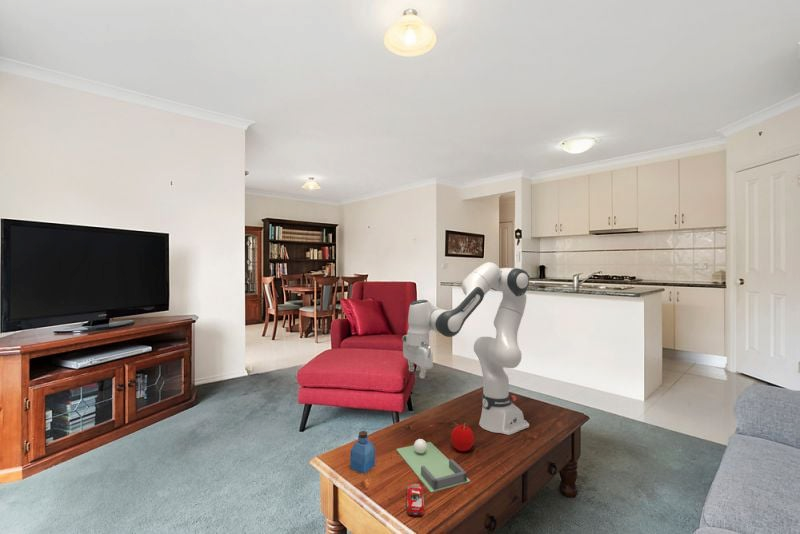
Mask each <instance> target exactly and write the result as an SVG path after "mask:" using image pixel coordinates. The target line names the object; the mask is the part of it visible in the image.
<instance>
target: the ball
mask: <svg viewBox="0 0 800 534" xmlns="http://www.w3.org/2000/svg"><path fill="white" fill-rule="evenodd" d="M413 445H414V449H415V451H416V452H417V453H420V454H422V453H424V452H425V451H426V449H427V443H426V441H425V440H424V439H423V438H418V439H416V440H415V441H414V443H413Z"/></svg>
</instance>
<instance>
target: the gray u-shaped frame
mask: <svg viewBox="0 0 800 534" xmlns="http://www.w3.org/2000/svg"><path fill="white" fill-rule="evenodd" d="M448 459H449V458H448ZM449 468H450V469H451V470H452V471H453V472H454V473H455V474H452V475H448V476H444V477H440V478H437V479H435V477H434V476H433V475H432V474H431V473H430V472H429V471H428V470H427V468H426V467H425V466H421V475H422V476H423V478H424V479H425V480H426V481H427V482H428V484H429V485H430V486H431V487H432V488H433V490H437V489H440V488H444V487H447V486H451V485H455V484H458V483H462V482H465V481H467V478H468V473H467V472H466V470H464V469H463V467H461V466H460V465H459V464H458V463H457V462H456V461H455V460H453V458H451V459H449Z"/></svg>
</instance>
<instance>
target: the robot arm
mask: <svg viewBox="0 0 800 534" xmlns="http://www.w3.org/2000/svg"><path fill="white" fill-rule="evenodd" d="M529 284H530V277H529V274H528V272H527V271H525V270H524V269H522V268H518V267H517V268H516V267H515V268H513V267H499V266H498V265H497V264H496V263H494V262H492V261H491V262H490V261H487V262H485V263H483V264H481V265H479V266H478V267H476V268H475V269H474V270H472V271H471V272H470V273H469V274H468V275H467V276H466V277H465V278H464V279H463V281H462V283H461V289H462V292H463V294H464V295H465V296H464V297H463V299H462V300H461V301H460V302H459V303H458V304H457V305H456V306H455V307H454V308H452V309H444V308H441V307H438V306H436V305H434V304H432V303H431V302H429V300H427V299H417V300H414V301H412V302H411V303H410V305H409V309H408V315H407V316H408V317H407V322H408V330H407V334H405V335H403V336H402V342H403V344H402V355H403V358H404V359H406V360H407V364H408V371H409V372H414V371H415V366H414V364H415V365H417V366H418V367H419V368H420V372H419V375H418V377H419V378H420V379H425V378H426V373H427V370H431V369H432V368H433V366H434V363H433V361H434V357H433V356H434V355H433V350H432V348H431V347H430V331H433V332H435V333H438V334H441V335H442V336H444V337H446V338H447V337H448V338H451V337H452V338H453V337H455V336H457V334H458V333H460V331H461V330H462V328H463V326H464V324H465V322H466V321H467V319H468V318H469V317H470V316H471V315H472V313H474V311H475V310H476V309H477V308H478V307H479V305H480V304H481V303H482V302H483V300H484V298H485V295H486V294H487V293H488V292H489V291H490V290H492V291H496V292H497V291H498V292H501V293H502V299H501V301H500V303H499V306H498V308H497V311H496V314H495V317H494V320H493V326H494V327H495V329H496V330H495V332H496V333H495V334H496V336H495V337H493V336H492V337H491V336H480V337H477V338H476V340H475V342H474V344H473V351H474V354H475V355H476V357H477V359H478V361H479V365H480V368H481V371H482V382H483V383H482V385H483V387H482V388H483V390H482V391H483V392H481V393H482V394H481V402H482V403H481V404H482V407H481V408H482V409H481V414H480V419H479V423H478V425H479V427H481V428H482V429H483V430H486V431H488V432H491V433H498V434H504V435H507V436H510V435H513V434H515V433H518V432H520V431H522V430H524V429H528V428H530V423H529V422H528V421H527V420H525V418H524V414H523V413H524V412H523V410H521V409H520V408H519V407H517V406H516V404H514V403H513V402H515V401H516V400H517V397H516V396H515V395H510V394H509V393H510V391H509V389H510V384H509V380H510V379H509V376H508V374H507V373H506V372H505V369H514V368H517V367H518V366H519V365H520V363H521V362H522V358H523V357H522V356H523V355H522V350H521V349H520V346H519V345H518V331H519V328H520V325H521V322H522V318H523V315H524V312H525V309H526V305H527V294H526V292H527V291H528V288H529ZM504 368H505V369H504ZM512 401H513V402H512Z"/></svg>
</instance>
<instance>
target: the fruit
mask: <svg viewBox="0 0 800 534" xmlns="http://www.w3.org/2000/svg"><path fill="white" fill-rule="evenodd" d="M450 440H451V443H452V446H453V448H454V449H456V450H457V451H459V452H466V451H469V450H471V448H472V447H473V445H474V443H475V435H474V432H473V430H472V429H471V428H470V427H469V426H468V425H466V423H464V424H459V425H457V426H455V427H454V428H453V430H452V431H451V434H450Z"/></svg>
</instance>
